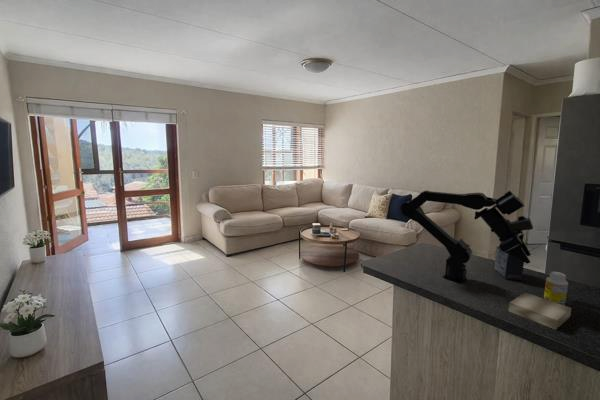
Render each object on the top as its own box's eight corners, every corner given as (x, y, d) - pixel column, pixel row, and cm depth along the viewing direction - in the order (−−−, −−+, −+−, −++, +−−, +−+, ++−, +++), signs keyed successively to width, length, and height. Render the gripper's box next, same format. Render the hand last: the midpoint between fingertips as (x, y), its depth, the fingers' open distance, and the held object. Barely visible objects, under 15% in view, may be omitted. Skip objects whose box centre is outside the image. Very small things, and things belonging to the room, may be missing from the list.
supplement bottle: (543, 297, 104) (547, 269, 102) (564, 302, 100) (569, 273, 99) (542, 303, 100) (547, 274, 98) (565, 308, 96) (569, 278, 95)
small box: (523, 280, 117) (526, 255, 115) (504, 279, 118) (507, 254, 117) (510, 270, 127) (513, 246, 126) (493, 269, 129) (495, 245, 127)
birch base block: (508, 311, 95) (509, 302, 94) (524, 300, 101) (525, 292, 101) (555, 329, 85) (557, 320, 84) (570, 317, 91) (571, 307, 91)
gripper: (517, 213, 96) (555, 254, 92) (519, 205, 111) (552, 240, 106) (485, 232, 102) (519, 271, 98) (491, 222, 117) (521, 256, 112)
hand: (529, 259), depth 103 cm, fingers open, 9 cm apart
